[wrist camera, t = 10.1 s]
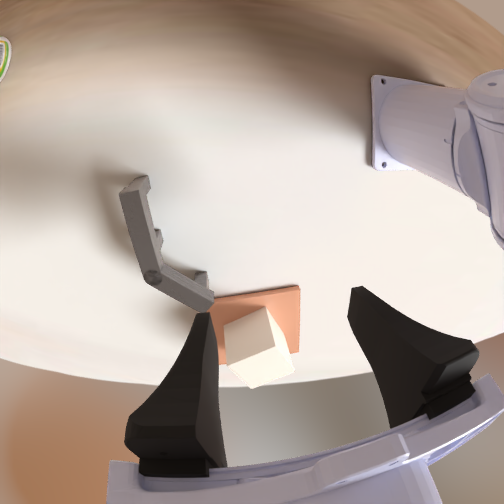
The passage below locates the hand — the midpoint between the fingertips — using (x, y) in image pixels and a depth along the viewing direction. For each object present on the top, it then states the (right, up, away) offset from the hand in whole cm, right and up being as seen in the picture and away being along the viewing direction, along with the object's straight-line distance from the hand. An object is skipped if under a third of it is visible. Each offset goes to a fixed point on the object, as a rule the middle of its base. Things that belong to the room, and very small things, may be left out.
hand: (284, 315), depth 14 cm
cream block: (-1, -5, +14) cm, 15 cm away
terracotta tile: (-1, -4, +14) cm, 15 cm away
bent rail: (-8, +4, +8) cm, 12 cm away
